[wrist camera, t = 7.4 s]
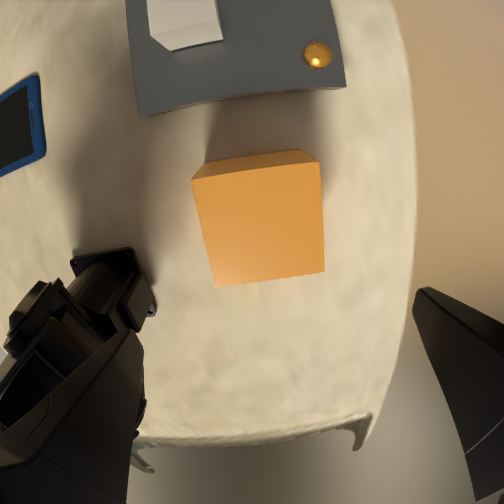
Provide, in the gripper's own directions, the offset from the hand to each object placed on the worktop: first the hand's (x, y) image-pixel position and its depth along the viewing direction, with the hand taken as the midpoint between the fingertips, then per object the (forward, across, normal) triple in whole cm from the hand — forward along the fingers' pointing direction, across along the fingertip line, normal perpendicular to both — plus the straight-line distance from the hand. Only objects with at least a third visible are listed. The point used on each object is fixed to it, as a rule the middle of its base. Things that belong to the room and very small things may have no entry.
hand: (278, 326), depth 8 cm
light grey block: (+10, +2, -12) cm, 16 cm away
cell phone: (+13, +22, -11) cm, 28 cm away
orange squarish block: (+12, 0, 0) cm, 12 cm away
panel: (+12, 0, -17) cm, 21 cm away
